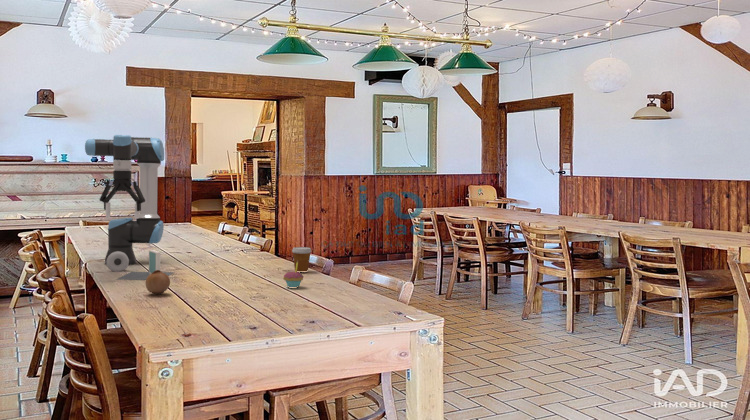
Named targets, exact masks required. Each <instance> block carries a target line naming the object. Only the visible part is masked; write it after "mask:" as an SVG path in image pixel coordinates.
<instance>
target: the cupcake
mask: <svg viewBox="0 0 750 420" xmlns="http://www.w3.org/2000/svg"><path fill="white" fill-rule="evenodd" d="M297 266H298V261H297V263H296V269H295V268H294V271H288V272H286V273H284V275H283V278H282V279H283V280H284V281H285V283H286V286H287V287H288V286H289V287H297V286H299V287H300V286H301V283H302V281H303V280H304V275H303V273H299V272H297Z"/></svg>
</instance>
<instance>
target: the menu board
mask: <svg viewBox="0 0 750 420" xmlns="http://www.w3.org/2000/svg"><path fill="white" fill-rule="evenodd" d="M156 270H160V271H161V251H157V250H154V249H149V250H148V272H149V274H152V273H153V272H154V271H156Z"/></svg>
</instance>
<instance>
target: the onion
mask: <svg viewBox="0 0 750 420" xmlns="http://www.w3.org/2000/svg"><path fill="white" fill-rule="evenodd" d="M163 272H164V271H161V269H160V270H156V271H154V272H153V273H152V274H150V275H149V276H148V277H147V279H146V280H145V287H146V289H147V291H148V293H151V294H154V295H162V294H163V293H165V292H166V291H167V290H168V289H169V287H170V285H171V278H170V277H169V276H168V275H166V274H165V273H163Z"/></svg>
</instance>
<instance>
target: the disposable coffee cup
mask: <svg viewBox="0 0 750 420" xmlns="http://www.w3.org/2000/svg"><path fill="white" fill-rule="evenodd" d="M291 252H292V256H293V258H292V259H293V265H294V266H293V268H294V270H295V269H296V263H297V261H298V266H297V271H307V270H308V271H309V265H310V260H311V253H312V249H311V247H305V246H297V247H296V246H295V247H293V248H292V250H291Z"/></svg>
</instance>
